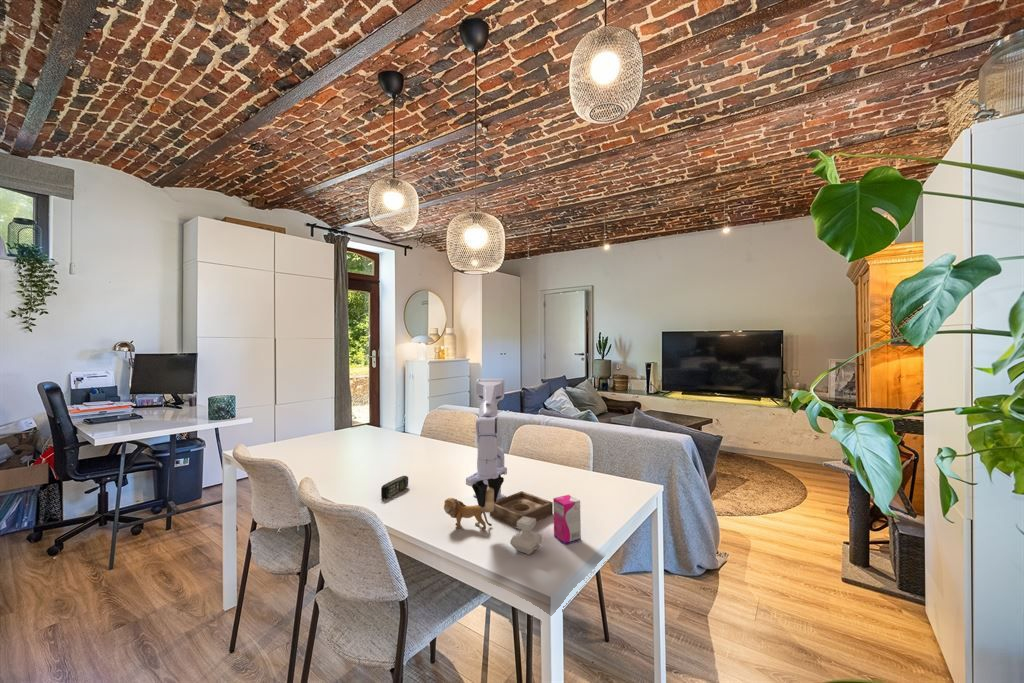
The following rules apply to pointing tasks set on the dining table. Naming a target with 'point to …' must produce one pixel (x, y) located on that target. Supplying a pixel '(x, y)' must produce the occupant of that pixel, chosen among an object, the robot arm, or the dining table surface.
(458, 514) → the tan animal figurine
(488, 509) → the oak dowel
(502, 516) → the walnut box
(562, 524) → the supplement box
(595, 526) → the dining table surface
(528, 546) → the stamp
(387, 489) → the mobile phone
